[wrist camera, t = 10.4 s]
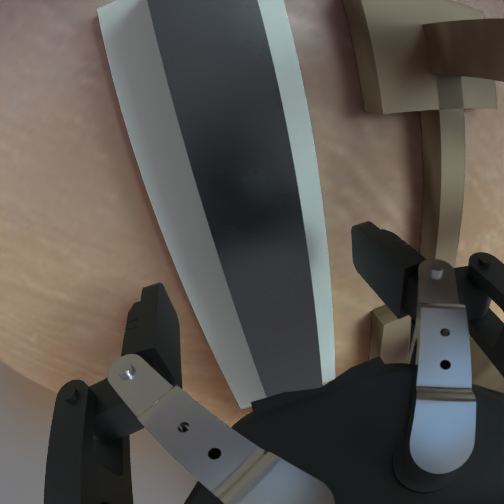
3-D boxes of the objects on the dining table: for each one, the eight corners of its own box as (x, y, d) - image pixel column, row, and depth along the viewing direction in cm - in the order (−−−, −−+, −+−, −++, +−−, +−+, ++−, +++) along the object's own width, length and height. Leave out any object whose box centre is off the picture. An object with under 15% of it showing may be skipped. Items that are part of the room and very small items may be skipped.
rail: (148, -9, 8) (138, -39, 5) (226, -26, 8) (240, -59, 5) (270, 401, 20) (281, 436, 17) (310, 388, 20) (325, 421, 17)
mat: (100, 12, 8) (96, 8, 7) (270, -27, 8) (274, -31, 8) (239, 402, 20) (240, 409, 19) (332, 372, 20) (335, 378, 20)
